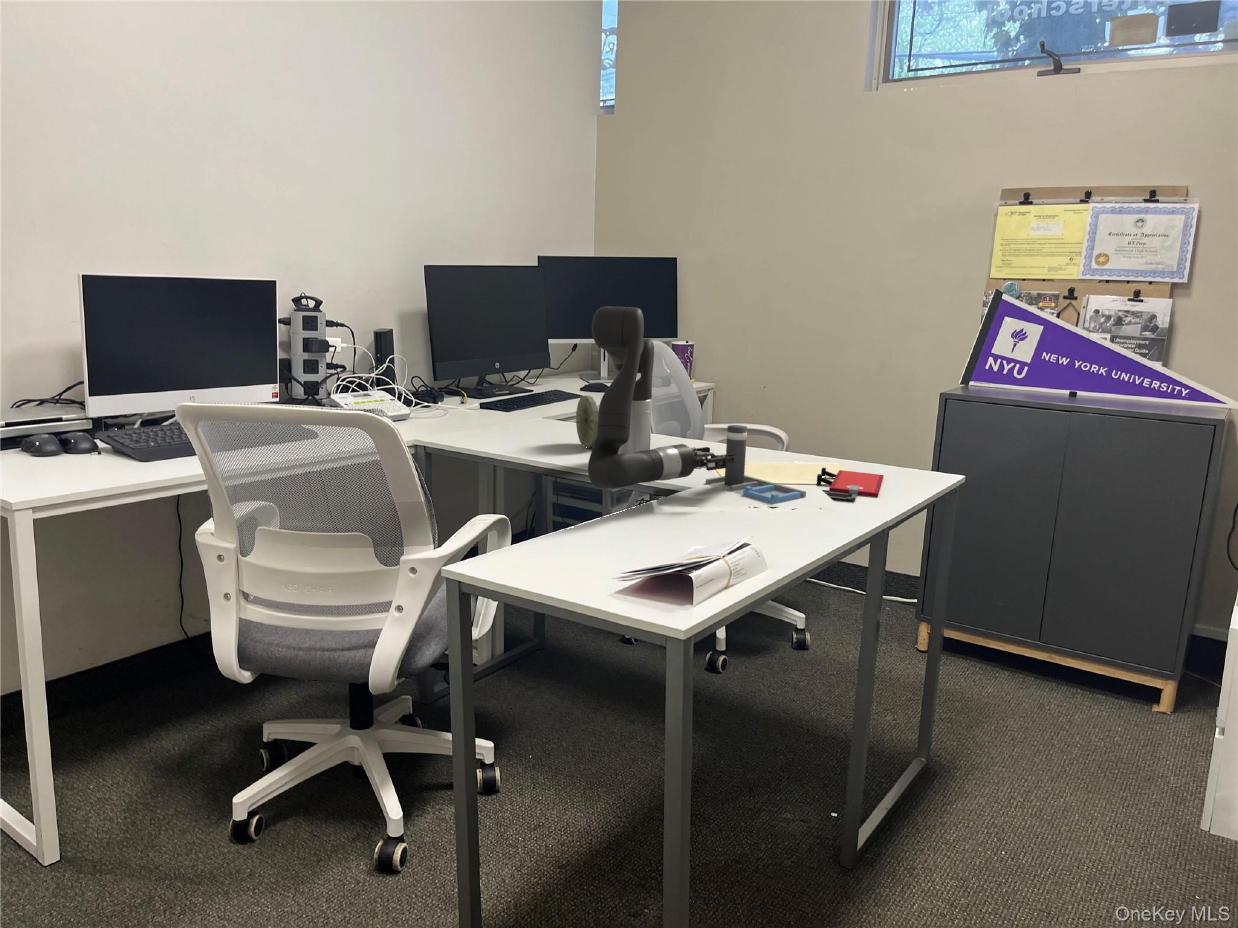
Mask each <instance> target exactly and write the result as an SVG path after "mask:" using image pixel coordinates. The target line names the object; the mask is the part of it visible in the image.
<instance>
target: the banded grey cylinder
mask: <svg viewBox="0 0 1238 928" xmlns="http://www.w3.org/2000/svg"><path fill="white" fill-rule="evenodd" d="M747 438H748V426H746V425H741V424H731V425H730V424H729V425H727V429H726V445H725V446H726V449H725V454H731V453H733V454H735V455H736V456H735V463H732V464H728V468H724V476H725V483H724V484H725V485H727V486H732V485H737V484H743V483H744V475H745V469H746V468H745V467H746V452H747V451H746V450H747Z"/></svg>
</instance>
